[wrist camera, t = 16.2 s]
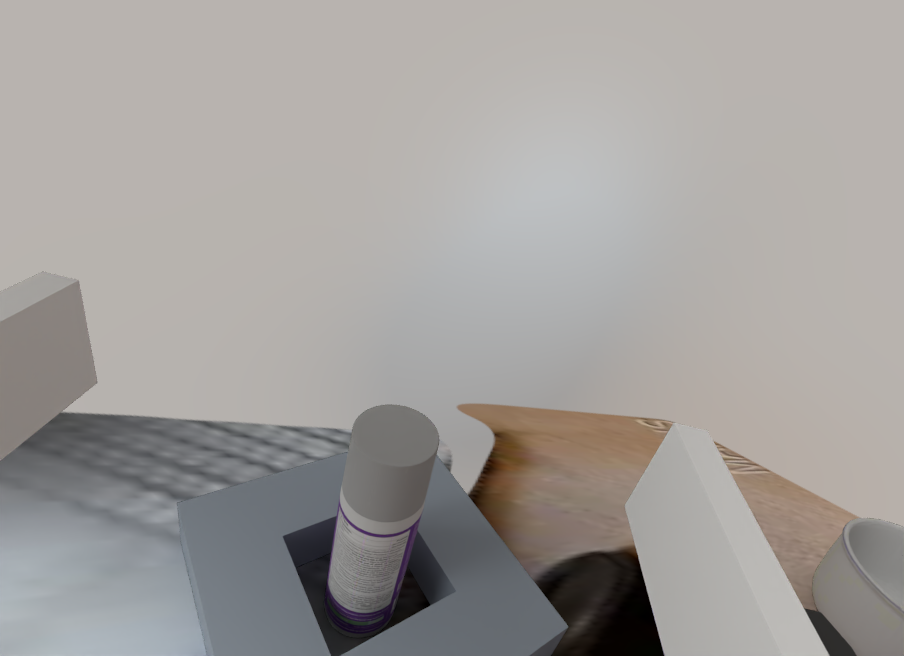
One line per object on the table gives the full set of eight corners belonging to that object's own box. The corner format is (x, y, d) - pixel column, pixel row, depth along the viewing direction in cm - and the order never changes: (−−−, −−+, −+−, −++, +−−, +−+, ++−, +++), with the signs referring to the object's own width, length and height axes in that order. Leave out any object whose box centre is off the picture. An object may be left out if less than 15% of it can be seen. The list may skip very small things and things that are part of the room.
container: (359, 554, 35) (392, 391, 27) (409, 598, 33) (459, 435, 25) (308, 602, 31) (329, 430, 24) (360, 655, 29) (401, 485, 22)
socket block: (180, 542, 33) (177, 502, 31) (409, 463, 43) (418, 430, 41) (259, 879, 21) (261, 849, 19) (548, 660, 31) (568, 626, 29)
